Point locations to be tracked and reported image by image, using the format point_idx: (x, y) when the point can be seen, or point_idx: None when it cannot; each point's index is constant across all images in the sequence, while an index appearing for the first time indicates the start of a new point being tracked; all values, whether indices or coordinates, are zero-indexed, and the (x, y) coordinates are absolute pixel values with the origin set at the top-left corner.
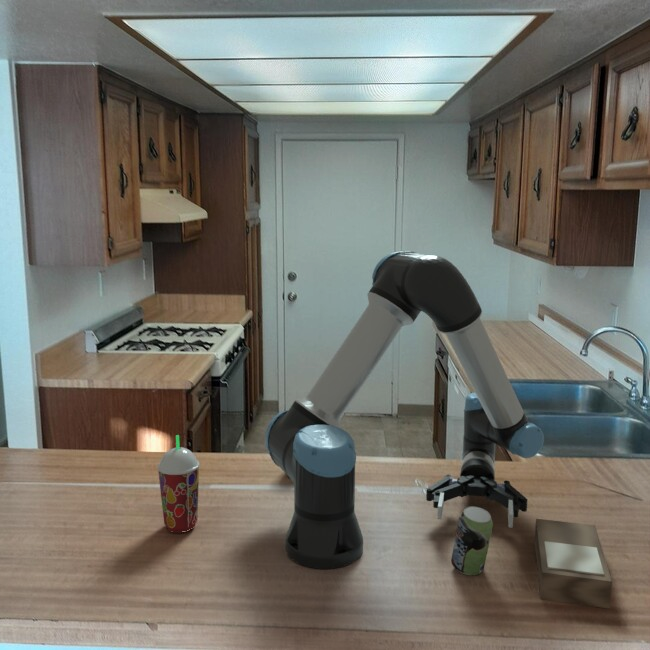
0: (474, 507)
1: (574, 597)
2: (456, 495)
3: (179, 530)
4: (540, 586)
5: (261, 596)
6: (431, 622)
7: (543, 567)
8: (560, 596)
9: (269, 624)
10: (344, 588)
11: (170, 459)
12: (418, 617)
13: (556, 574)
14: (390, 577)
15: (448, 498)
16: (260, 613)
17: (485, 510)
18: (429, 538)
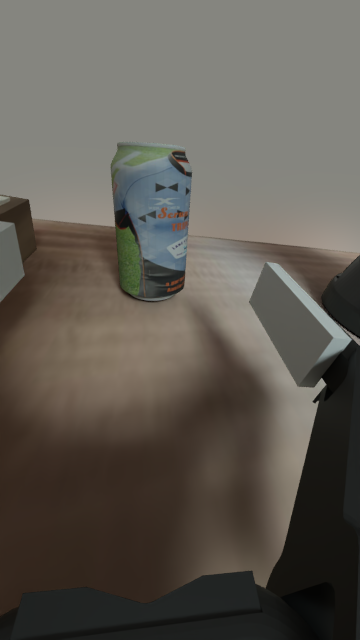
0: (161, 145)
1: None
2: (300, 500)
3: None
4: (28, 241)
5: (341, 265)
6: None
7: (18, 203)
8: None
9: (303, 248)
10: (289, 269)
11: None
12: (197, 244)
13: (3, 195)
14: (256, 280)
15: (315, 431)
16: (320, 254)
17: (130, 143)
18: (259, 376)
